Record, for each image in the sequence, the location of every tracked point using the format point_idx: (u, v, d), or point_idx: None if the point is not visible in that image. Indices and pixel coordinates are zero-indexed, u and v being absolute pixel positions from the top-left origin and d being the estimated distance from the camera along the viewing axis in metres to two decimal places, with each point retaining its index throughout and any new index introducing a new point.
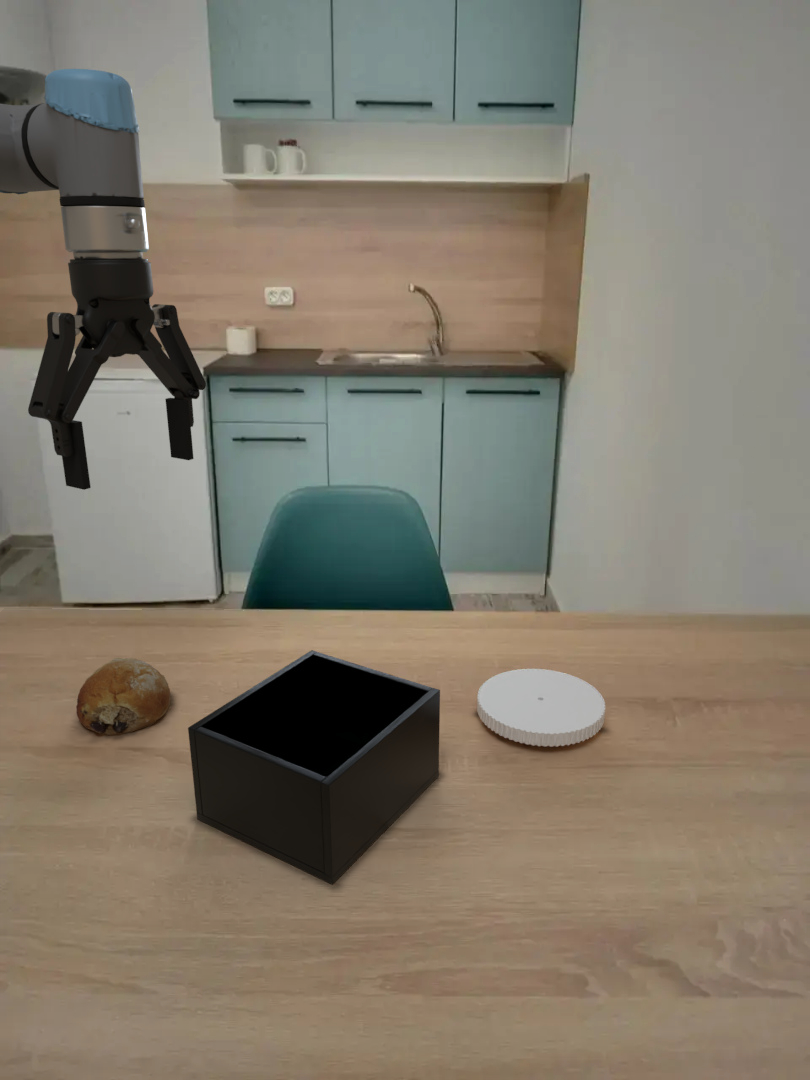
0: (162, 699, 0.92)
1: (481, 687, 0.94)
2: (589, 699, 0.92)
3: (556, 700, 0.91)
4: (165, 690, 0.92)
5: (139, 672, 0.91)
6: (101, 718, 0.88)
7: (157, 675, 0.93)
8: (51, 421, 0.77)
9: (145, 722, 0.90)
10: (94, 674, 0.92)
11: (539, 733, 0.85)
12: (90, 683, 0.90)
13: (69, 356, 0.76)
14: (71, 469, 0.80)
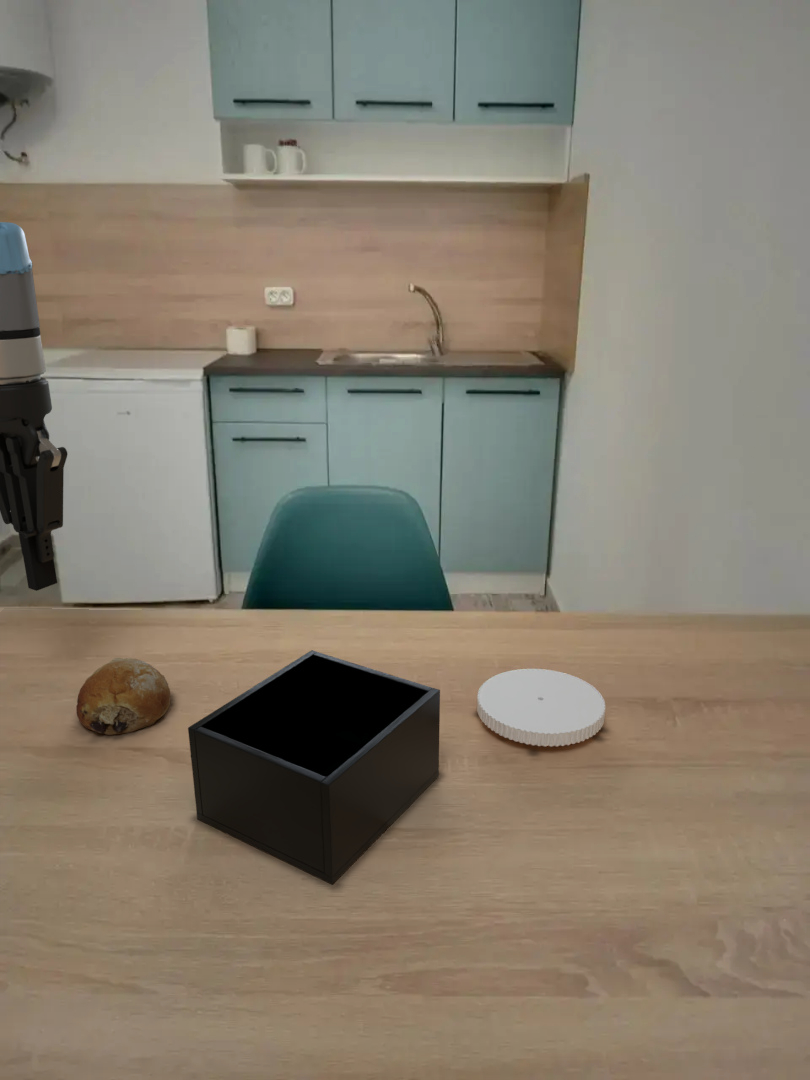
0: (162, 699, 0.92)
1: (481, 687, 0.94)
2: (589, 698, 0.92)
3: (556, 700, 0.91)
4: (165, 690, 0.92)
5: (139, 672, 0.91)
6: (101, 718, 0.88)
7: (157, 675, 0.93)
8: (44, 533, 0.92)
9: (145, 722, 0.90)
10: (94, 674, 0.92)
11: (539, 733, 0.85)
12: (90, 683, 0.90)
13: None
14: (43, 572, 0.94)
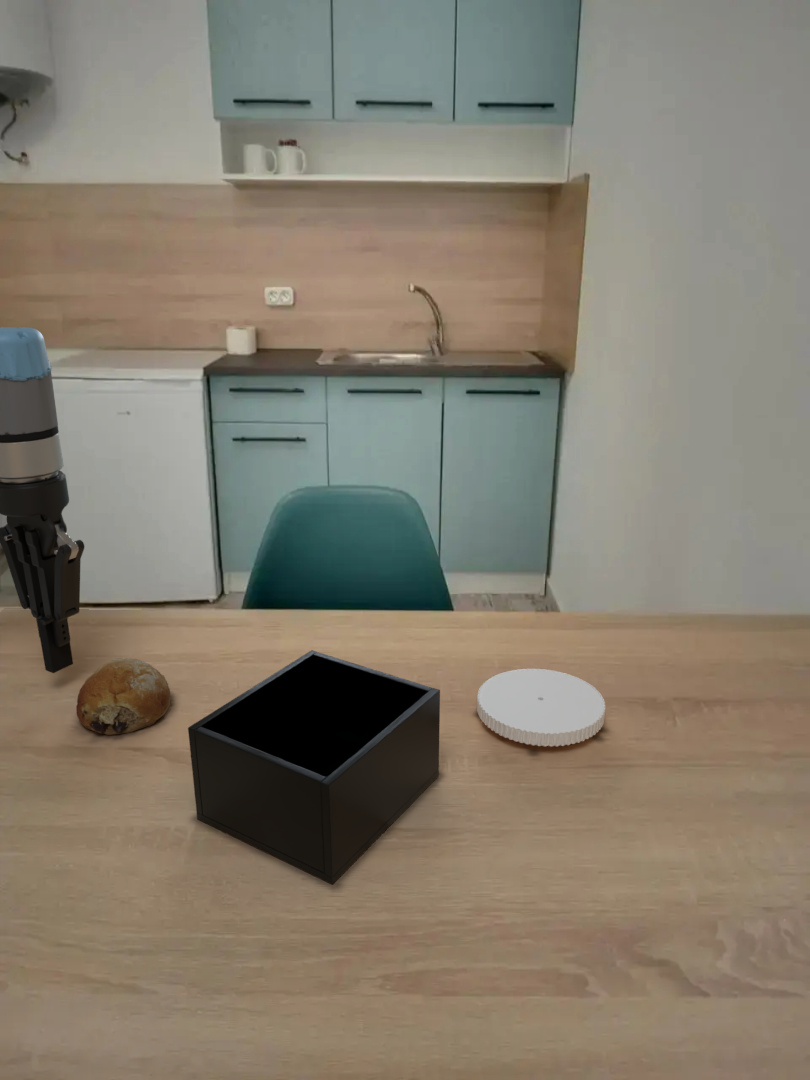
0: (162, 699, 0.92)
1: (481, 687, 0.94)
2: (589, 698, 0.92)
3: (557, 700, 0.91)
4: (165, 690, 0.92)
5: (139, 672, 0.91)
6: (101, 718, 0.88)
7: (157, 675, 0.93)
8: (61, 619, 0.95)
9: (145, 722, 0.90)
10: (94, 674, 0.92)
11: (539, 733, 0.85)
12: (90, 683, 0.90)
13: None
14: (60, 655, 0.97)
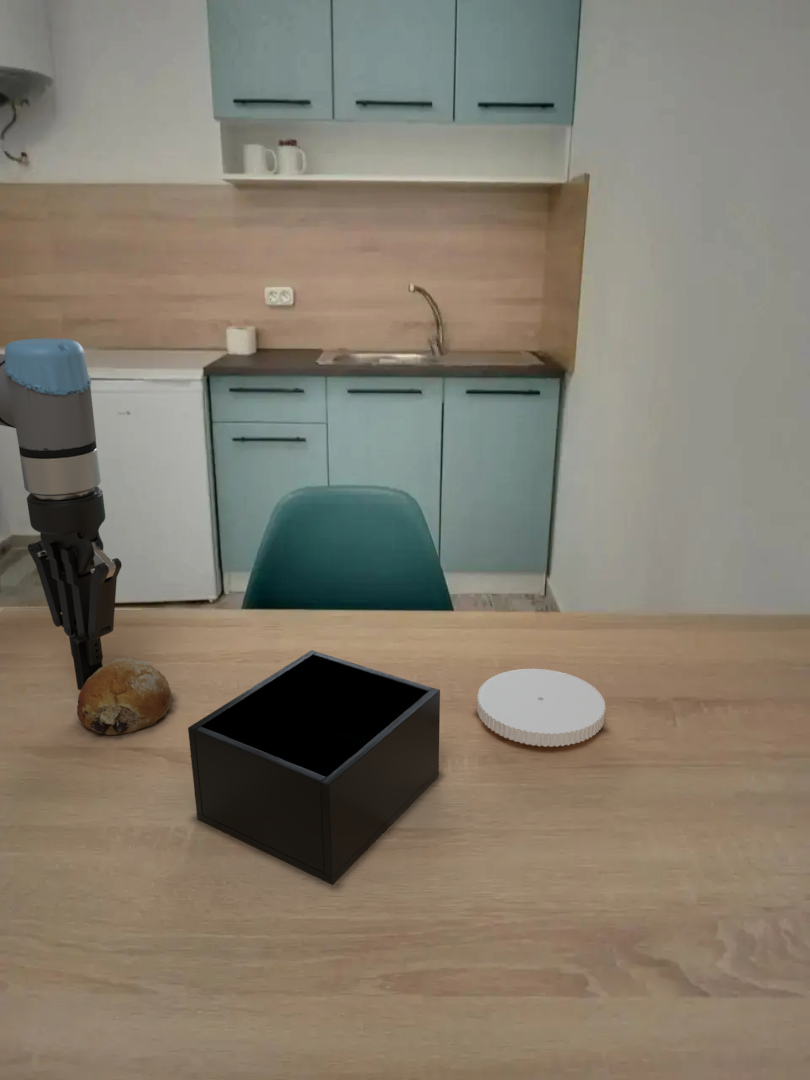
0: (163, 699, 0.92)
1: (481, 687, 0.94)
2: (589, 699, 0.92)
3: (556, 700, 0.91)
4: (165, 690, 0.92)
5: (140, 672, 0.91)
6: (102, 718, 0.88)
7: (157, 675, 0.93)
8: None
9: (146, 722, 0.90)
10: (95, 674, 0.91)
11: (539, 733, 0.85)
12: (91, 683, 0.90)
13: None
14: (91, 674, 0.95)
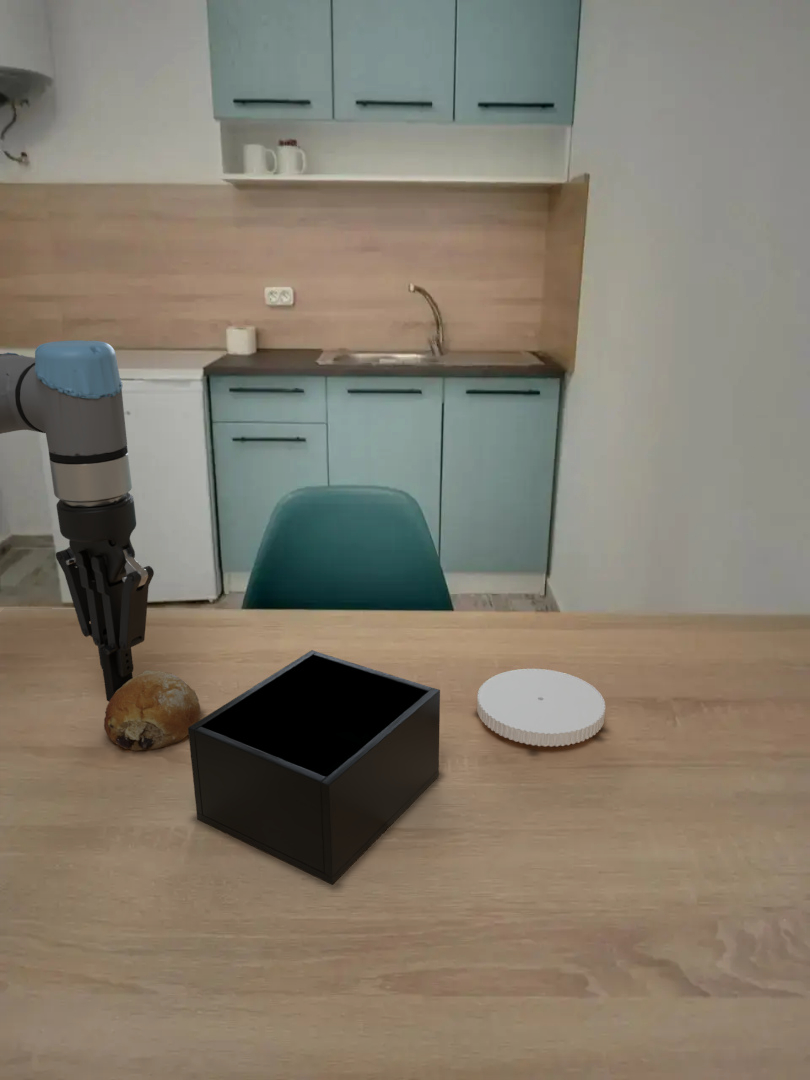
0: (191, 716, 0.88)
1: (481, 687, 0.94)
2: (589, 698, 0.92)
3: (557, 700, 0.91)
4: (194, 706, 0.89)
5: (168, 687, 0.88)
6: (126, 733, 0.85)
7: (186, 690, 0.89)
8: None
9: (172, 739, 0.87)
10: (123, 687, 0.89)
11: (539, 733, 0.85)
12: (118, 696, 0.88)
13: None
14: (122, 685, 0.92)
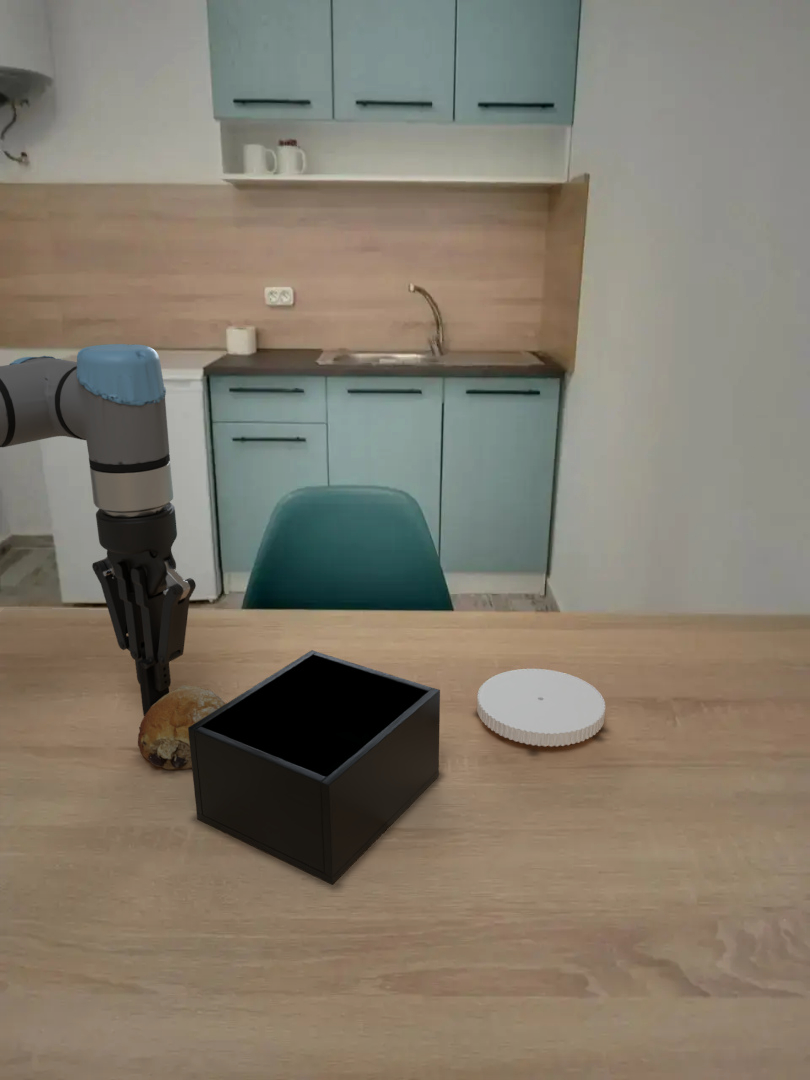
0: None
1: (481, 687, 0.94)
2: (589, 698, 0.92)
3: (556, 700, 0.91)
4: None
5: (203, 705, 0.85)
6: (159, 752, 0.82)
7: None
8: None
9: None
10: (158, 702, 0.86)
11: (539, 733, 0.85)
12: (153, 711, 0.85)
13: None
14: (158, 699, 0.89)
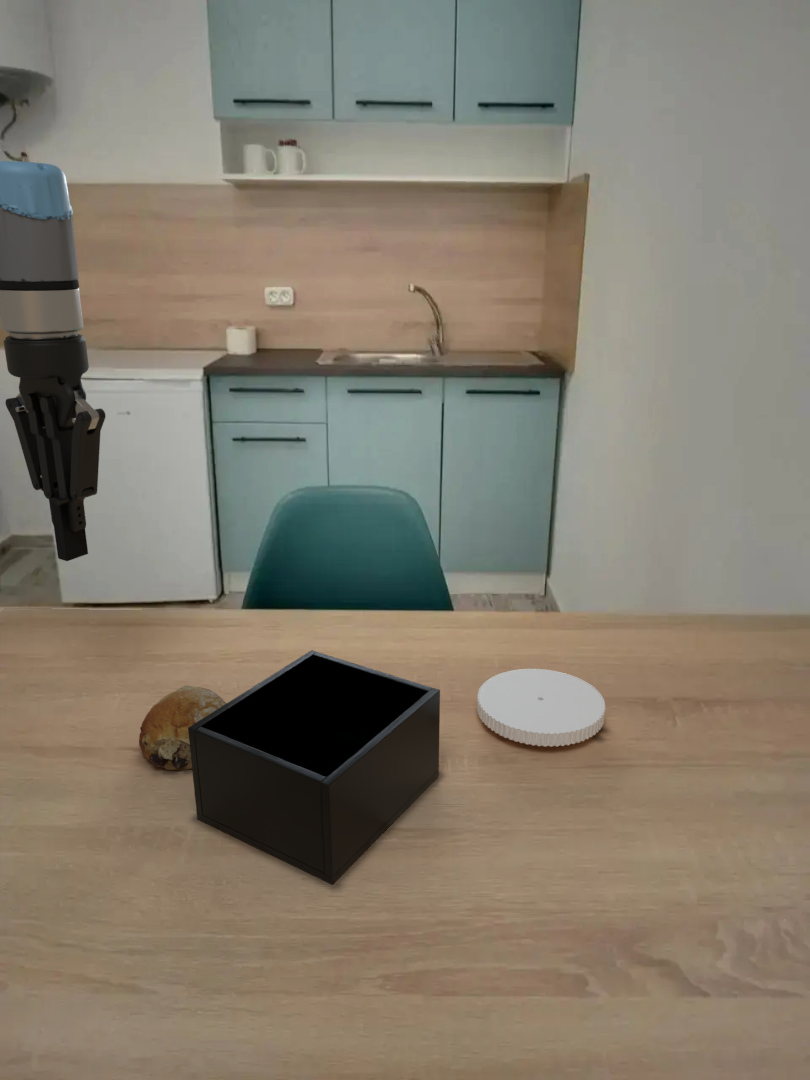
0: None
1: (481, 687, 0.94)
2: (589, 698, 0.92)
3: (556, 700, 0.91)
4: None
5: (204, 705, 0.85)
6: (160, 752, 0.82)
7: None
8: (77, 501, 0.86)
9: None
10: (159, 702, 0.86)
11: (539, 733, 0.85)
12: (154, 712, 0.85)
13: None
14: (74, 542, 0.89)
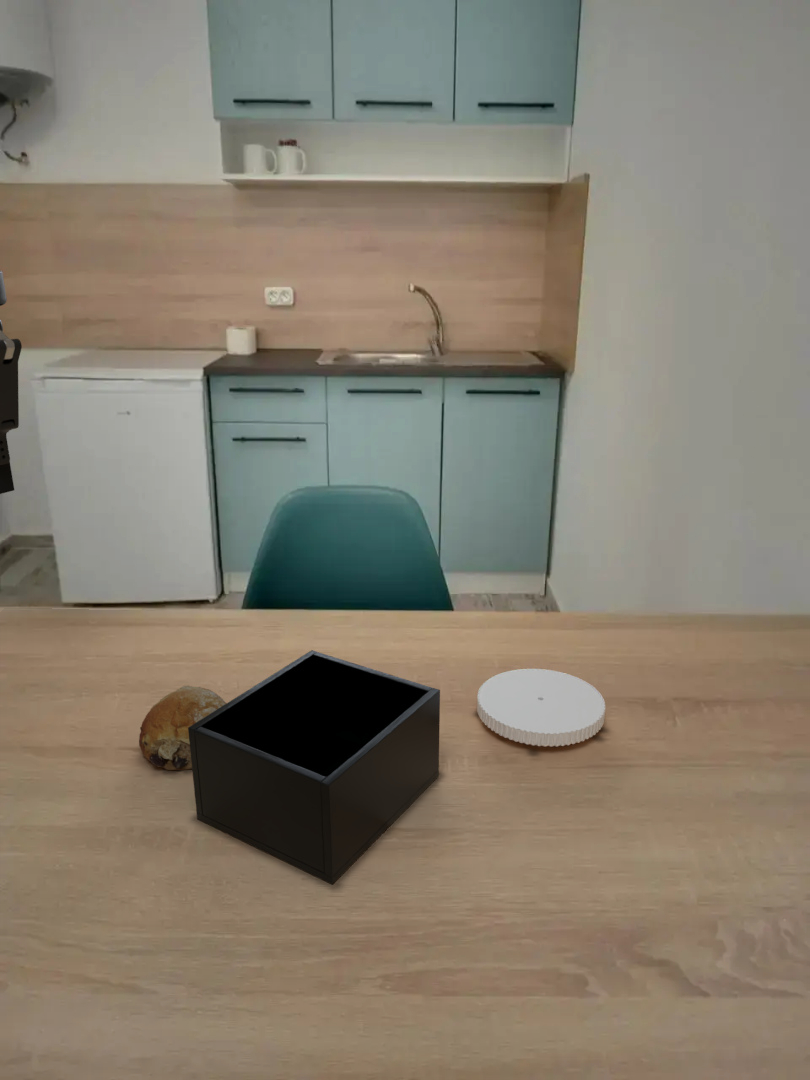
0: None
1: (481, 687, 0.94)
2: (589, 698, 0.92)
3: (557, 700, 0.91)
4: None
5: (204, 705, 0.85)
6: (160, 752, 0.82)
7: None
8: None
9: None
10: (159, 702, 0.86)
11: (539, 733, 0.85)
12: (154, 712, 0.85)
13: None
14: None
